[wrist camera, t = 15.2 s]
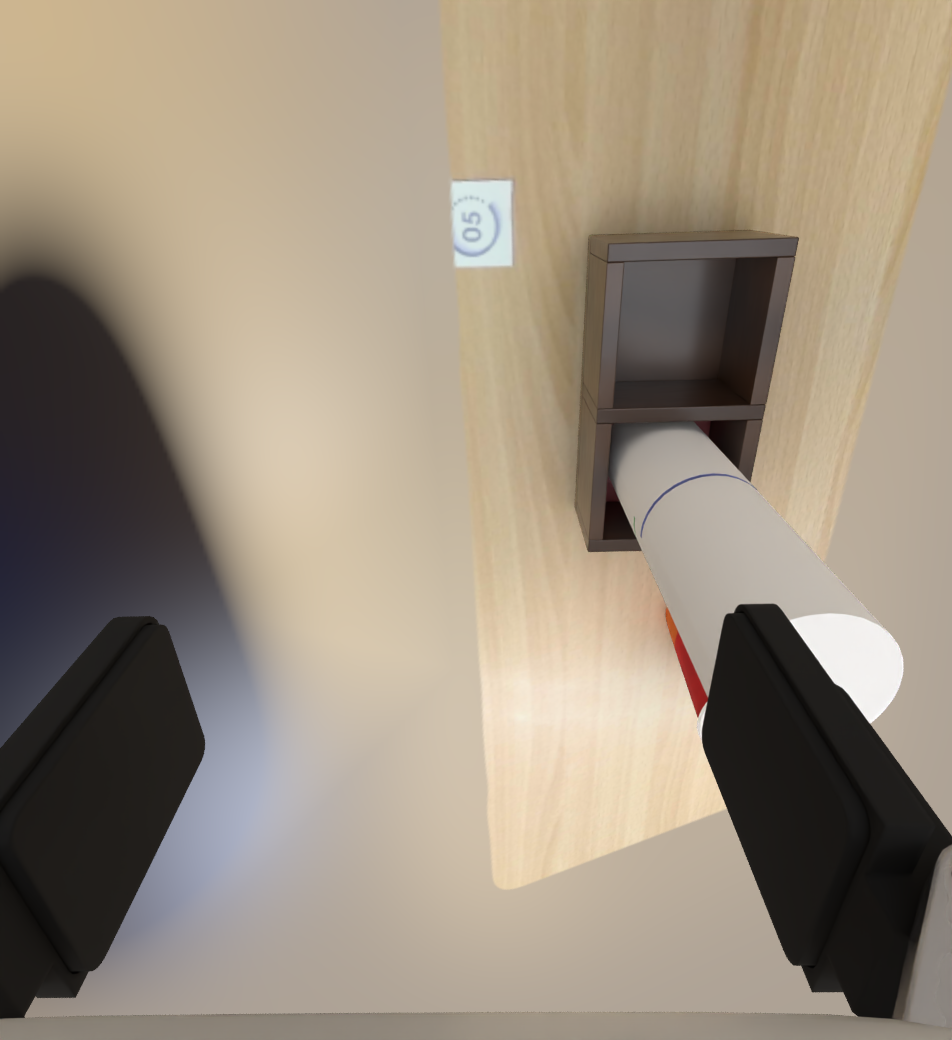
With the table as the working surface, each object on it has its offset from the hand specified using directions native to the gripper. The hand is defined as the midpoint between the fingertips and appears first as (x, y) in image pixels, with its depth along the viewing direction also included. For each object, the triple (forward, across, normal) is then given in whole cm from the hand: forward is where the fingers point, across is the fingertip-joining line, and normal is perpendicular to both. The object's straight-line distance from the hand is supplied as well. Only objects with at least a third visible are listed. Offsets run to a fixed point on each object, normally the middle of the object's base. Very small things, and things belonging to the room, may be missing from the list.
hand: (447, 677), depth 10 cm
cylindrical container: (+35, -13, +10) cm, 39 cm away
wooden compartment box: (+36, -13, +6) cm, 39 cm away
